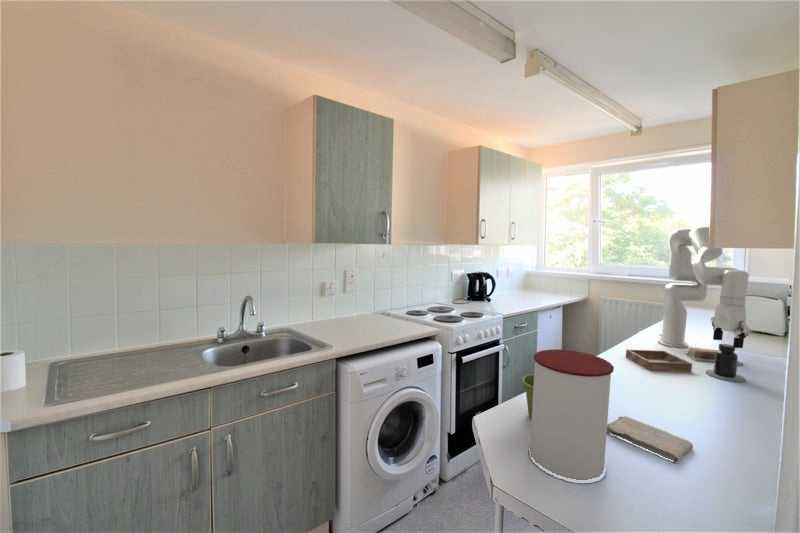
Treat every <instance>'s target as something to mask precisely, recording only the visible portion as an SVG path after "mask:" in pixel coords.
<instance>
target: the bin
mask: <svg viewBox="0 0 800 533" xmlns="http://www.w3.org/2000/svg"><path fill="white" fill-rule="evenodd" d="M625 357H626V359H628V360H630V361H632V362H634V363H635V364H637V365H639V366H640V367H642V368H644V369H646V370H647V371H651V372H652V371H654V372H655V371H656V372H678V373H679V372H681V373H692V370H693V363H691V362H689V361H687V360H685V359H682V358H680V357H679V356H677V355H675V354H673V353H670V352H668V351H665V350H656V349H655V350H652V349H650V350H649V349H628V348H627V349H626V350H625ZM649 359H653V360H654V359H655V360H656V359H658V360H664V361H650V360H649Z"/></svg>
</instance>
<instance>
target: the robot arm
mask: <svg viewBox="0 0 800 533" xmlns="http://www.w3.org/2000/svg"><path fill="white" fill-rule="evenodd" d="M709 227H710V226H699V227H694V228H677V229H674V230H671V232H670V233H669V236H668V246H669V253H670V257H669V266H668V277H669V279H670V280H671V281H675V282H691V283H692V284H691V283H669V284H666V285H665V286H664V288H663V292H662V294H663V302H664V304H663V305H664V306H663V318H662V331H661V333H658V336H659V337H660V338H659V339H657V343H658V344H660V345H662V346H666V347H671V348H679V347H680V348H682V349H683V348H684V347H685V348H688V346H689V344H688V343H687V342H685V340H686V338H685V337H686V328H687V319H688V312H687V311H688V310H687V309H686V307H685V306H684V305H683V304H702V303H704V302H705V300H706V298H707V292H708V286H719V287H720V288H721V289H720V296H719V297H720V298H719V302H718V303H717V305H716V308H715V310H714V315H713V316H712V317H710V320H711V321H710V322H711V326H712V330H713V336H712V339H713V340H714V341H723V335H724V334H723V333H724V331H727V332H732V333H733V335H734V336H735V337H733V345H732V346H733V347H734V348H735V349H743V348H744V343H745V340H744V339H746V338H747V337H748V336H749V334H750V333H751V331H752V330H751V328H750V327H749V326H748V325H747V310H746V302H747V293H748V284H749V277H750V275H749V273H748V272H747V271H745V270H739V269H737V268H733V267H716V266H713V267H712V266H706V264H705V263H709V262H712V261H714V260H716V259H718V258H720V257H721V256H722V254H723V248H722V247H721V248H715V247H710V246H709ZM689 247H693V249H694V251H695V252H696V256H695V257H694V259H693V261H692V252H691V250H690V249H689Z"/></svg>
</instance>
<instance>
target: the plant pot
mask: <svg viewBox="0 0 800 533" xmlns="http://www.w3.org/2000/svg"><path fill="white" fill-rule="evenodd" d="M521 380H522V383H523V384H524V390H525V394H526V396H525V397H526V403H527V413H528V417H529V418H530V417H531V418H532V404H533V386H534V373H532V374H527V375H524V376H523V377H522V378H521ZM531 418H530V419H531Z"/></svg>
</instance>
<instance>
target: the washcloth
mask: <svg viewBox="0 0 800 533" xmlns="http://www.w3.org/2000/svg"><path fill="white" fill-rule="evenodd" d="M607 432H608V433H611V434H613V435H616V436H619V437H621V438H623V439H626V440H628V441H630V442H632V443H633V444H636V445H638V446H641V447H643V448H645V449H648V450H650V451H652V452H654V453H657V454H659V455H661V456H663V457H665V458H668V459H671V460H673V461H674V462H676V463H675V464H678V463H679V462H680V461H682V459H683V457H684V456H686V455H685V454H689V453H690V452H691V451H692V450H693V448H694V445H693V443H692V442H691V441H689V440H687V439H685V438H682V437H679V436H677V435H673V433H672V434H671V433H669V432H667V431H665V430H662V429H660V428H657V427H654V426H653V425H650V424H647V423H644V422H642V421H640V420H637V419H635V418H631V417H629V416H627V415H624V416H618V418H617V419H615V420H614V421H611V422H609V423H607ZM608 433H607V434H608ZM677 462H678V463H677Z"/></svg>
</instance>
